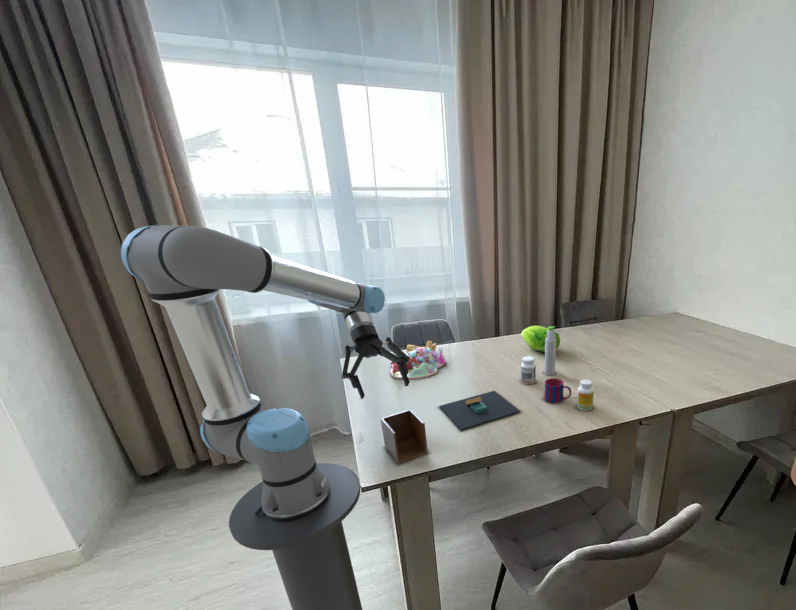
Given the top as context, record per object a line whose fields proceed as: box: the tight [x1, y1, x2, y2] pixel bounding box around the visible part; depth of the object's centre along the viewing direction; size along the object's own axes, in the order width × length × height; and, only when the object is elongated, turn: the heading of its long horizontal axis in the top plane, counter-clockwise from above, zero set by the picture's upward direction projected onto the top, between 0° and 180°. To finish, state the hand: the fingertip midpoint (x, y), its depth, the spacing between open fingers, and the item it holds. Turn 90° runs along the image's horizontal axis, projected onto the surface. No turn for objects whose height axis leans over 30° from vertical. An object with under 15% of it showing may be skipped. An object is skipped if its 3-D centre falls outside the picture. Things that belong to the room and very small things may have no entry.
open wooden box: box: [380, 408, 429, 465], centre depth 114 cm, size 10×9×10 cm
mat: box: [438, 390, 521, 432], centre depth 137 cm, size 22×18×1 cm
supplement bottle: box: [576, 379, 595, 411], centre depth 137 cm, size 5×5×10 cm
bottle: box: [544, 325, 557, 376], centre depth 161 cm, size 4×4×20 cm
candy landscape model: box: [390, 340, 446, 380], centre depth 171 cm, size 25×24×9 cm
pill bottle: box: [520, 355, 537, 385], centre depth 156 cm, size 6×6×10 cm
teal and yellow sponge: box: [470, 401, 487, 413], centre depth 137 cm, size 5×4×1 cm
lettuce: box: [520, 325, 561, 353], centre depth 188 cm, size 13×23×12 cm, turn 41°
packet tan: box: [465, 397, 482, 405], centre depth 138 cm, size 5×4×1 cm
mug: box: [543, 377, 572, 404], centre depth 142 cm, size 7×10×7 cm
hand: (386, 390), depth 118 cm, fingers open, 13 cm apart
